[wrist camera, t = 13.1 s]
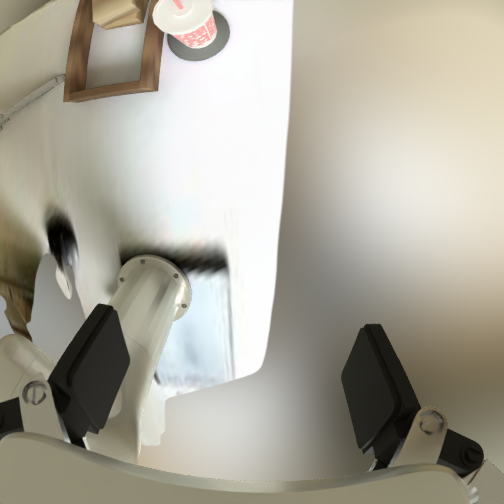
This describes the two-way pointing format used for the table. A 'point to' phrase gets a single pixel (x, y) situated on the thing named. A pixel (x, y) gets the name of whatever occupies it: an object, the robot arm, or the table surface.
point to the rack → (80, 53)
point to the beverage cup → (186, 21)
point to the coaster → (203, 52)
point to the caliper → (30, 98)
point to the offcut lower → (130, 17)
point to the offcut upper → (113, 10)
